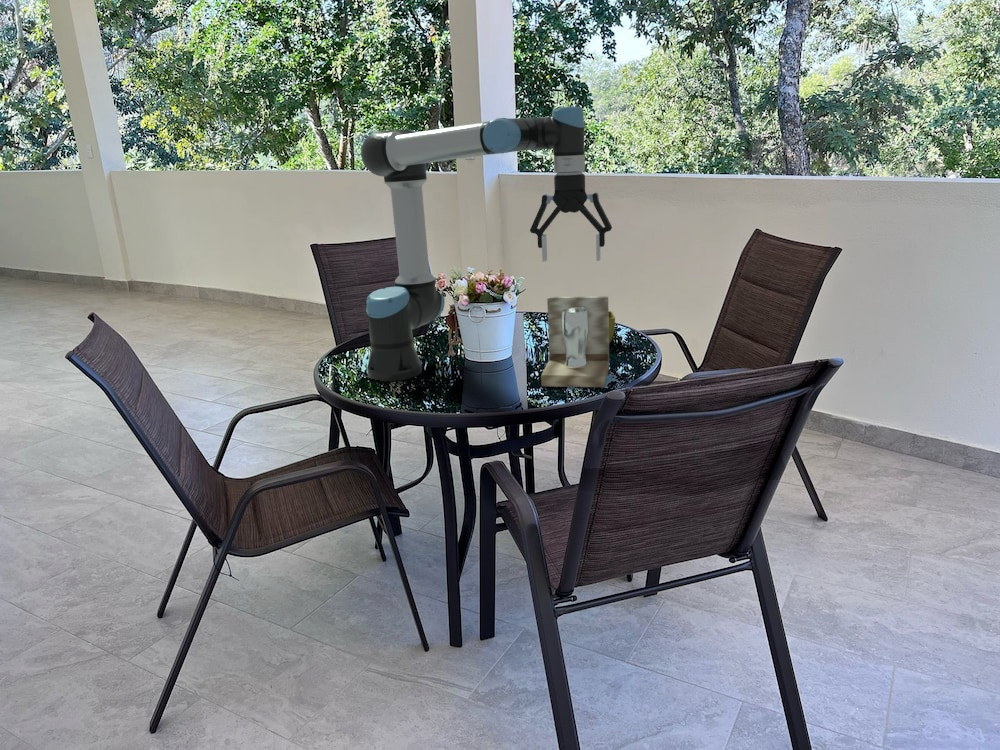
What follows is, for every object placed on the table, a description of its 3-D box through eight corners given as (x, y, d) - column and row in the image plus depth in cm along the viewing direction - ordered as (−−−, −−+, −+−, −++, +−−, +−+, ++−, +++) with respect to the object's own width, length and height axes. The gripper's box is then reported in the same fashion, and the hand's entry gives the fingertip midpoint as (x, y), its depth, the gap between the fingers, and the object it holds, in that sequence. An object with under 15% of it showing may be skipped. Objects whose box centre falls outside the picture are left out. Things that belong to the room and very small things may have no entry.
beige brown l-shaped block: (541, 386, 195) (538, 310, 189) (550, 368, 210) (548, 296, 204) (604, 387, 192) (603, 309, 186) (609, 368, 206) (608, 296, 200)
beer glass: (570, 360, 205) (568, 306, 201) (593, 363, 202) (592, 307, 197) (558, 367, 200) (556, 312, 195) (582, 370, 196) (581, 313, 192)
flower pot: (615, 347, 227) (615, 317, 224) (586, 348, 227) (585, 319, 224) (612, 339, 235) (611, 310, 232) (583, 340, 235) (583, 312, 233)
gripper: (516, 176, 185) (520, 263, 192) (620, 172, 180) (620, 262, 186) (522, 174, 192) (525, 258, 199) (622, 170, 187) (622, 257, 193)
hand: (571, 260), depth 193 cm, fingers open, 13 cm apart
